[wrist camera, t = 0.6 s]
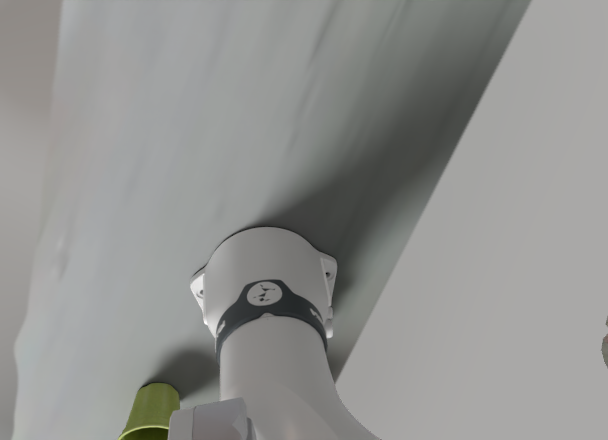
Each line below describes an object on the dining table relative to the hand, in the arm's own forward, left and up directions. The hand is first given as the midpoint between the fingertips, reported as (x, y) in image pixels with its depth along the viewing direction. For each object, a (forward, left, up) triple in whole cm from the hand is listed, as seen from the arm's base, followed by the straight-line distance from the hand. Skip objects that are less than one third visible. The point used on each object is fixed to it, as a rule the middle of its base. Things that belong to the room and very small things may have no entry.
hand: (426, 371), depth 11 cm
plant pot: (-52, +23, -46) cm, 73 cm away
